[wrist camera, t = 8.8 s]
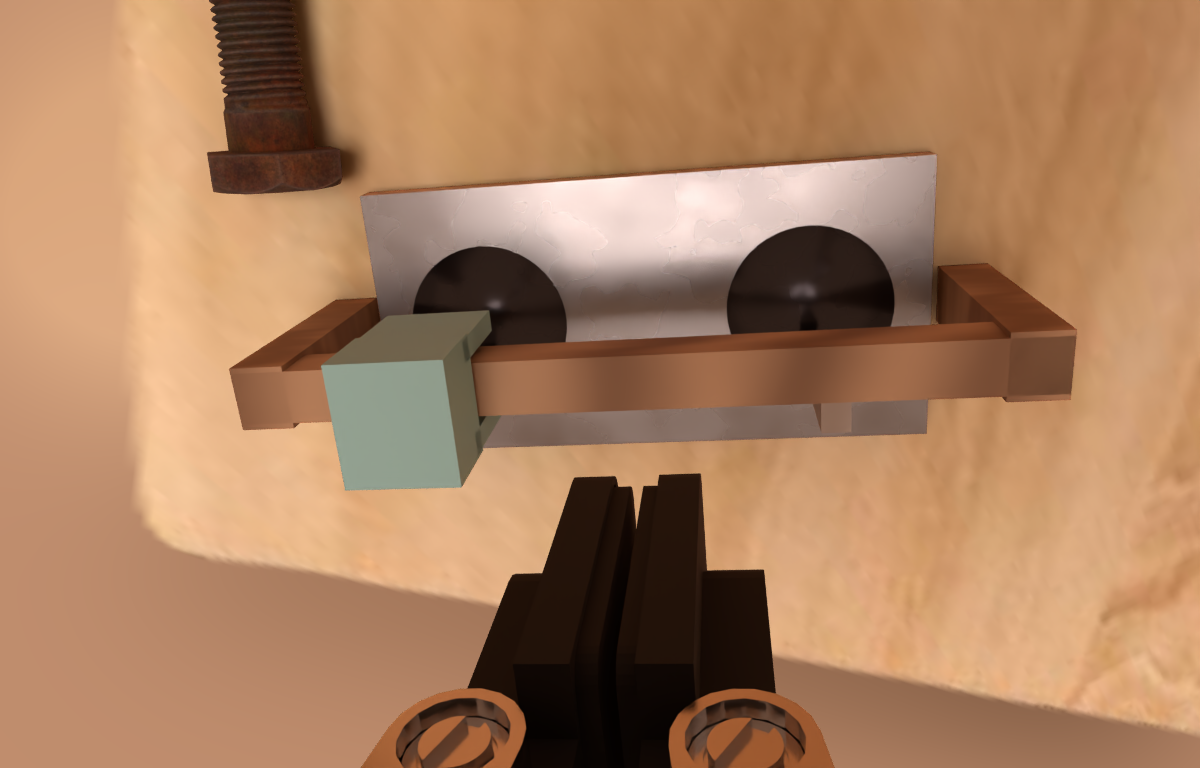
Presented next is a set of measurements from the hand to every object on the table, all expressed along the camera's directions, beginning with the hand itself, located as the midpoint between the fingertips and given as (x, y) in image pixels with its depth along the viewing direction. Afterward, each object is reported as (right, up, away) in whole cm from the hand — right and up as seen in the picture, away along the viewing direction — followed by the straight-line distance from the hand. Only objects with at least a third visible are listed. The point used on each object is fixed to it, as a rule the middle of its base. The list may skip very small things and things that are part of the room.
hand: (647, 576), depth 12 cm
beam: (+2, +6, +29) cm, 29 cm away
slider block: (-6, +5, +28) cm, 29 cm away
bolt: (-14, +19, +26) cm, 35 cm away
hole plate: (+2, +6, +29) cm, 29 cm away
